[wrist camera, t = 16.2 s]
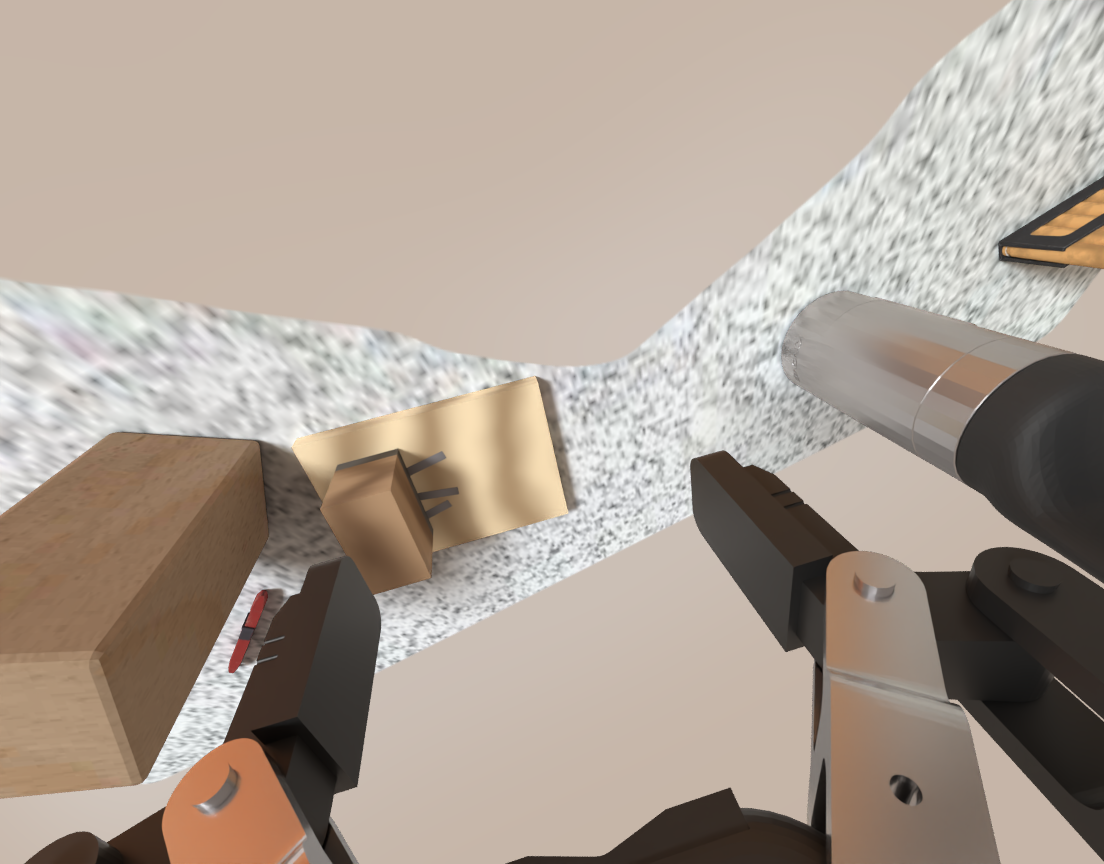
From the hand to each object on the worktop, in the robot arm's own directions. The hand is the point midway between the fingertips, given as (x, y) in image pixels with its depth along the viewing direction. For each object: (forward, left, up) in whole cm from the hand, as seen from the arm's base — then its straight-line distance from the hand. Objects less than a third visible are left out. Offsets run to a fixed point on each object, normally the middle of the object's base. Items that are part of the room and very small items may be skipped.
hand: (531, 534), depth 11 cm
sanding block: (+12, +15, -27) cm, 33 cm away
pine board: (+7, +15, -28) cm, 33 cm away
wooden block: (+26, +10, -28) cm, 40 cm away
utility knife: (+30, +26, -28) cm, 49 cm away
